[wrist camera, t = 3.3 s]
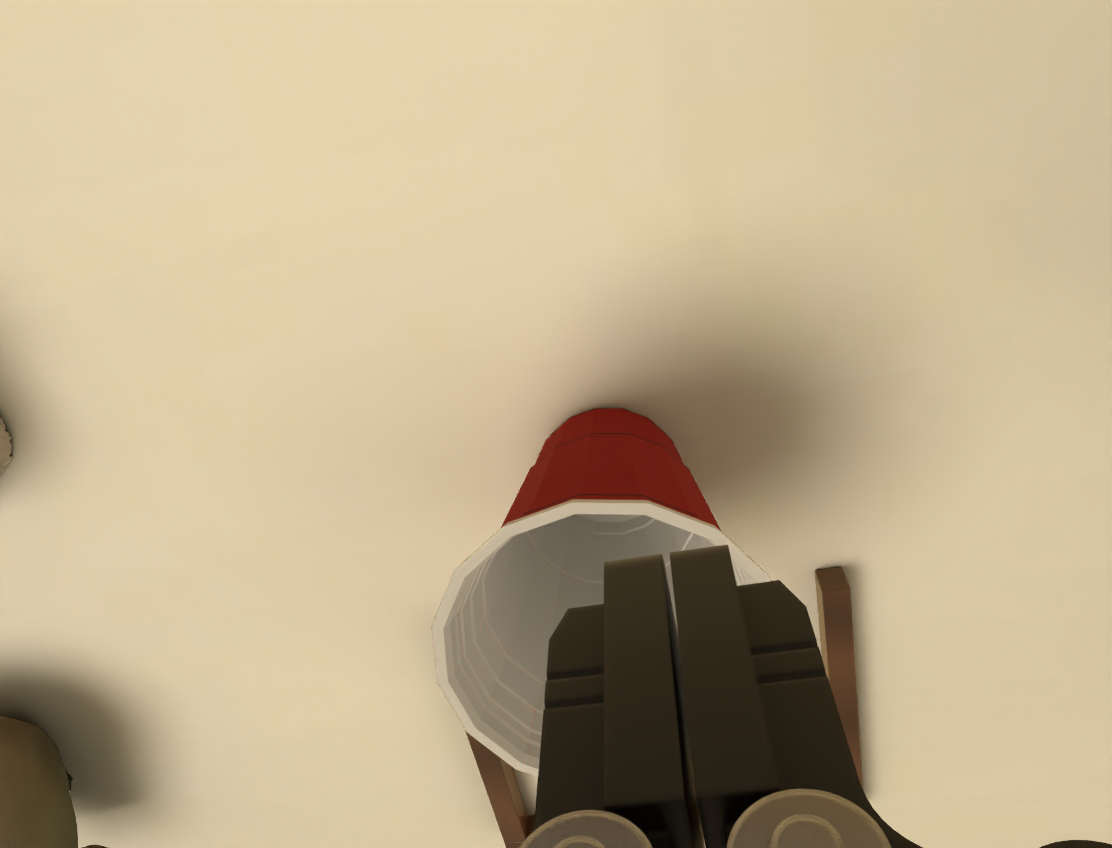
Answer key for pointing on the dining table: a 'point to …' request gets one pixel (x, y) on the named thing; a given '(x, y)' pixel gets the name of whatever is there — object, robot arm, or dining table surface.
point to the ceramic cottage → (4, 447)
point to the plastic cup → (562, 567)
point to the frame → (838, 670)
